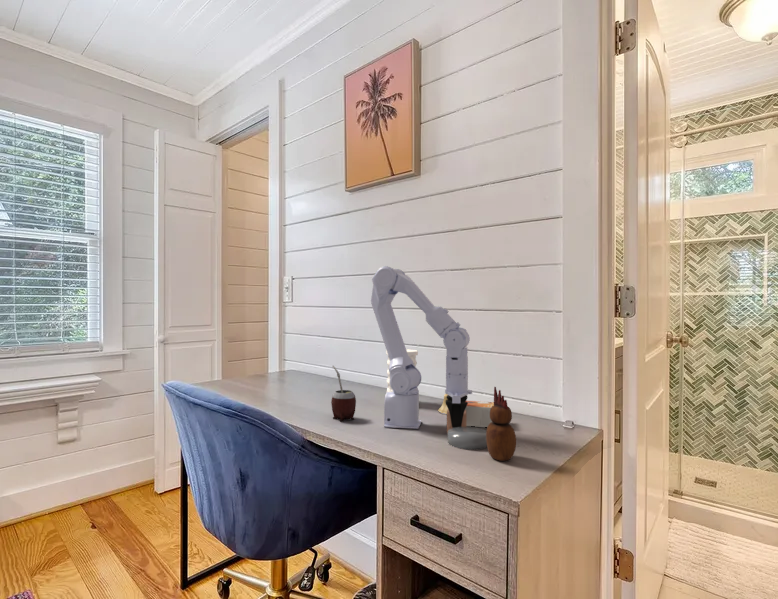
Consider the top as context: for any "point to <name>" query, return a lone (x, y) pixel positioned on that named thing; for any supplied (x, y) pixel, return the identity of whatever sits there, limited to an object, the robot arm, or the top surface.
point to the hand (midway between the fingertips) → (456, 425)
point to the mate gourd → (343, 403)
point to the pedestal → (467, 437)
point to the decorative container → (410, 353)
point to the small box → (478, 413)
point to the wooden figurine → (500, 430)
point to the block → (450, 420)
